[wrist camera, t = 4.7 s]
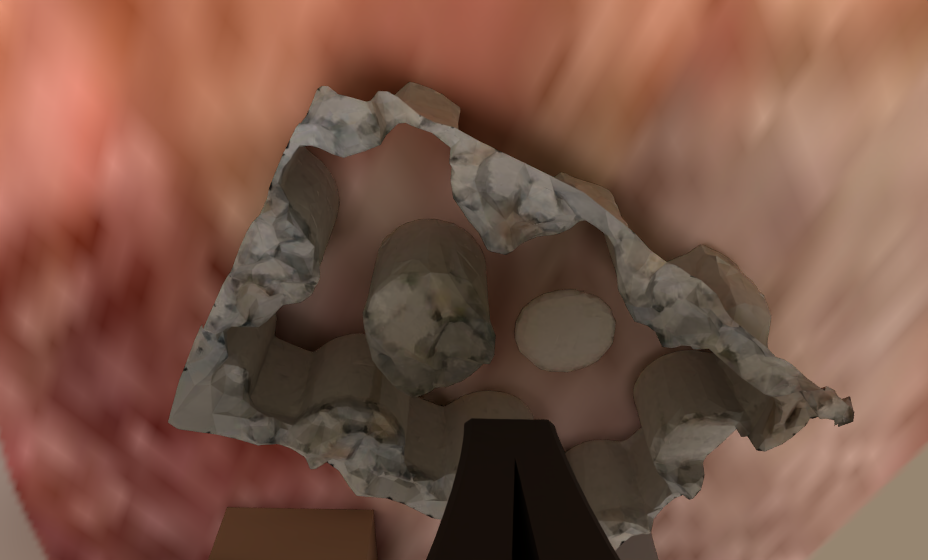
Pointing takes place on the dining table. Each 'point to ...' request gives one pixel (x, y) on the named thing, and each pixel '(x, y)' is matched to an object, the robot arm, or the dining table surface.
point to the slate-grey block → (638, 548)
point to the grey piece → (478, 331)
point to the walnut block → (295, 534)
